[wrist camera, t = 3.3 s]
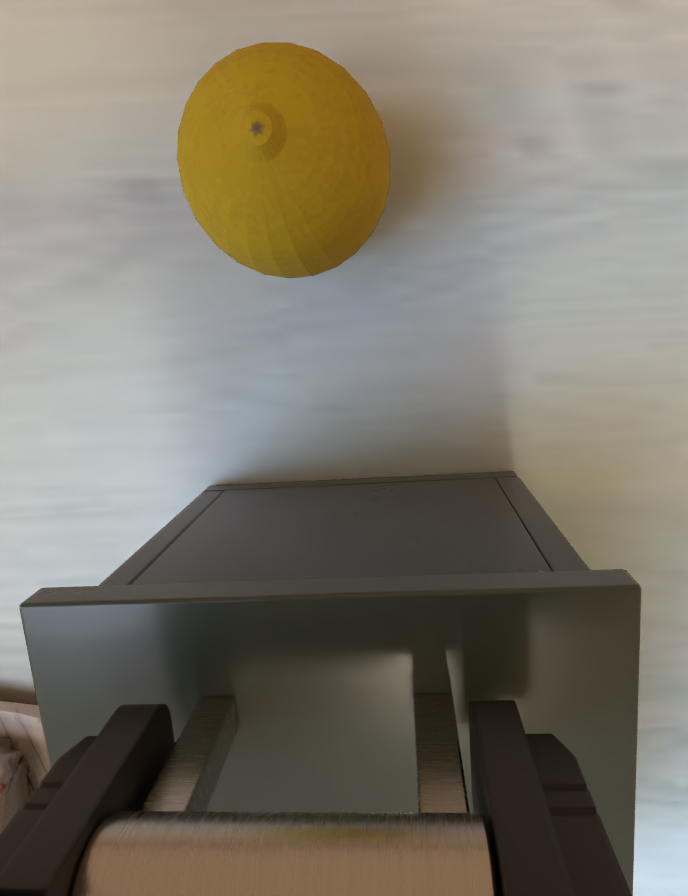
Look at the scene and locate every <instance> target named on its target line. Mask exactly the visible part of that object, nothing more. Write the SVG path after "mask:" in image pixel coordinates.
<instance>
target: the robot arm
mask: <svg viewBox="0 0 688 896" xmlns="http://www.w3.org/2000/svg"><path fill="white" fill-rule="evenodd" d="M469 732H470V762H471V788H472V801H473V812H474V813H480V814H483V815H484V817H485V819H486V822H487V825H488V829H489V833H490V838H491V844H492V850H493V856H494V863H495V870H496V878H497V886H498V895H499V896H632V894H631V892H630V889H629V887H628V884H627V882H626V880H625V877H624V875H623V872H622V870H621V867H620V865H619V862H618V860H617V857H616V855H615V853H614V850H613V848H612V845H611V843H610V840H609V838H608V835H607V833H606V830H605V828H604V826H603V823H602V821H601V818H600V816H599V814H597V811H596V806H595V803H594V801H593V799H592V796H591V794H590V791H589V790H587V784H586V781H585V779H584V776H583V774H582V772H581V769H580V767H579V764H578V762H577V759H576V757H575V756H574V755H573V754H572V753H571V752H570V751H569V750H568V749H567V748H566V747H565V746H564V745H563V744H562V743H561V742H560V741H559V740H558V739H557V738H556V737H555V736H554V735H553V734H525V731H524V727H523V724H522V721H521V718H520V715H519V711H518V708H517V705H516V702H515V701H514V700H494V701H469ZM174 745H175V740H174V733H173V726H172V719H171V713H170V710H169V708H168V706H167V705H166V704H123V705H121V706H119V707H118V708H117V709H116V711H115V712H114V714H113V715H112V716H111V718H110V719H109V720H108V722H107V723H106V725H105V726H104V727H103V729H102V730H101V732H100V733H99V734H98V736H87V737H86V738H84V739H83V740H82V741H80V742H79V743H78V744H76V745H75V746H74V747H72V748H71V749H70V750H69V751H67V752H66V753H65V754H63V755H62V756H61V757H59V759H58V760H57V761H56V763H55V764H54V765H53V766H52V768H51V769H50V770H49V772H48V773H47V774H46V776H45V777H44V778H43V779H42V781H41V782H40V787H39V788H36V789H35V790H34V791H33V792H32V794H31V795H30V796H29V798H28V799H27V800H26V802H25V803H24V807H23V809H22V810H19V811H18V812H17V813H16V815H15V816H14V817H13V818H12V820H11V821H10V822H9V824H8V825H7V826H6V828H5V829H4V830H3V832H2V833H1V834H0V896H70V893H71V888H72V884H73V880H74V877H75V873H76V870H77V867H78V864H79V861H80V858H81V856H82V853H83V851H84V849H85V847H86V844H87V842H88V840H89V838H90V837H91V835H92V833H93V831H94V830H95V828H96V827H97V826H98V824H99V823H100V822H101V821H102V820H103V819H104V818H105V817H106V816H108V815H109V814H111V813H113V812H116V811H140V810H141V808H142V806H143V804H144V802H145V801H146V799H147V797H148V795H149V793H150V791H151V789H152V787H153V785H154V783H155V781H156V779H157V778H158V776H159V774H160V772H161V770H162V768H163V766H164V764H165V762H166V760H167V758H168V756H169V755H170V753H171V751H172V749H173V747H174Z"/></svg>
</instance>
